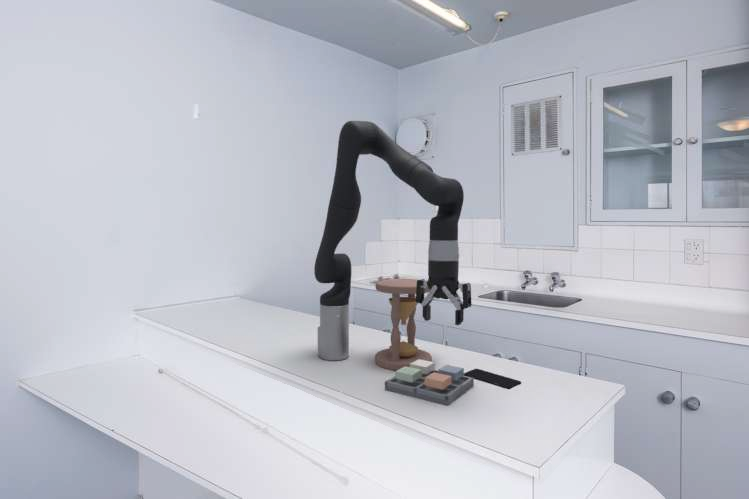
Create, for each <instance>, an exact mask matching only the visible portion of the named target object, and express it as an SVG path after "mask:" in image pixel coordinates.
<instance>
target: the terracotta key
mask: <svg viewBox="0 0 749 499" xmlns="http://www.w3.org/2000/svg"><path fill="white" fill-rule="evenodd" d="M451 381H452V376H449V375H444V374H439V373H435V372H434V373H432V374H430V375H429V376H427V377H425V386H429V387H433V388H437V389H442V390H443V389H445V388H446V387H447V386H449V385H450V384H451Z"/></svg>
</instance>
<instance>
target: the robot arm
mask: <svg viewBox="0 0 749 499" xmlns="http://www.w3.org/2000/svg"><path fill="white" fill-rule="evenodd" d="M337 144H338V146H337V154H336V164H335V171H334V178H333V184H332V190H331V193H330V197H329V202H328V207H327V208H328V209H327V212H326V219H325V223H324V229H323V233H322V236H321V241H320V245H319V248H318V252H317V254H316V257H315V262H314V268H313V269H314V273H313V274H314V278H315V280H316V281H317V283H320V284H333V286H332V287H331V288H330V289H329V290H328V291H326V292H324V293H322V294H321V295H320V297H319V326H317V357H320V359H322V360H324V361H325V360H326V361H342V360H346V359H347V358H349V357H350V353H349V350H350V348H349V347H350V333H349V332H350V323H349V322H350V321H349V320H350V296H351V290H352V289H351V285H352V284H351V283H352V264H351V263H352V262H351V258H350V257H349V255H347V254H346V253H336V250H337V247H338V245H339V244H340V243H341V241H342V240H343V239H344V237H346V235H347V234H348V233H349V232H350V231H351V230H352V228H353V227H354V226H355V224H356V223H357V220H358V219H359V214H360V209H361V204H362V194H361V191H360V186H359V184H358V181H357V174H356V173H357V166H358V165H357V164H358V160H359V158H360V156H362V155H364V156H365V155H371V156H375V157H377V158H379V159H381V160H383V161H384V162H385V163H386V164H387V165H388V167H389V168H390V170H391V172H392V173H393V175H395V176H396V177H397V178H398V179H399V180H401V181H402V182H404V183H405V184H406V185H408V186H409V187H411V188H413V190H415V191H416V193H417V194H418V195H420V197H421V198H422V200H423V199H424V201H426V202H427V203H429V204H430V205H432V206H436V207H438V208H437V212H436V213H437V214H436V215H435V216H434V217H431V219H430V221H429V241H428V242H429V244H428V252H427V254H428V255H427V256H428V259H427V263H428V264H427V265H428V266H427V276H428V280H425V278H420V279H417V286H416V294H415V298H416V302H417V303H418V304H420V305H421V306H422V318H423V319H424V321H425V322H428V321H430V320H431V318H432V316H431V309H432V308H431V307H432V305H431V303H432V302H433V301H434V299H438V300H439V299H444V300H448V301H450V303H451V304H453V306H454V307H455V313H454V314H455V318H454V321H455V322H454V324H455V325H456V326H460V325H462V323H463V322H464V310H465V309H468V308H470V307H472V286H471V285H472V284H471V283H470V282H465V283H460V282H459V268H460V267H459V259H460V253H459V252H460V248H459V221H460V217H461V214H462V210H463V204H464V197H465V196H464V188H463V186H462V184H461V182H460V181H458V180H457V179H456V178H450V177H449V178H448V177H443V176H441V175H439V174H436V173H435V172H434V170H433V168H432V167H431V166H430V165H429V164H428V163H426V162H425V161H423V160H421V159H419V158H418V157H416V156H415V155H413V153H412V154H411V152H409V151H407V150H405V149H404V148H403V147H402V146H400V145H399V144H398V143H397V142H396V141H395V140H394V139H392V138H391V137H390V136H389V135H388V134H387V133H386V132H385V131H384V130H383V129H382V128H381V127H379V126H378V125H377V124H376V123H374V122H372V121H367V120H349V121H346V122H345V123H344V124H343V125H342V126H341V129H340V132H339V136H338V143H337ZM426 286H428V288H429V289H430V292H427V294H426V293H425V288H426ZM458 290H460V292H461V293H462V299H461V297H460V294H459V293H458ZM425 294H426V296H425Z"/></svg>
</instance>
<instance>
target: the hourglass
mask: <svg viewBox="0 0 749 499" xmlns="http://www.w3.org/2000/svg"><path fill="white" fill-rule="evenodd" d="M417 280H418V278H417V279H415V278H414V279H413V278H390V279H382V280H378V281H376V282H375V290H376V291H378V292H380V293H386V294H391V297H390V298H388V302H389V304H390V306H391V311H390V320H391V323H392V329H391V333H390V344H391V345H390V346H389V347H388V348H383V349H382V350H379V351H377V353H376V354H375V355H374V360H375V364H376V365H378V366H379V367H381V368H383V369H385V370H386V369H387V370H392V371H397V370H399V369H401V368H403V367H405V366H406V367H410V364H411V363H413V362H414V361H416V360H418V359H420V360H425V361H430V362H433V357H432V355H431V353H430V352H428V351H426V350H422V349H419V347H418V346H416V343H415V342H416V340H415V339H416V338H415V336H416V331H417V328H416V326H417V325H416V322H415V319H414V318H415V314H416V310H417V305H418V304H419V303H417V302H416V286H417ZM429 292H430V289H429V288H428V286H426V288H425V294H426V293H427V294H428V293H429ZM401 295H407V296H401ZM400 325H401V326H406V335H407V341H405V340H402V341H401V333H400V329H399V326H400Z"/></svg>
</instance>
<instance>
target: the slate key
mask: <svg viewBox="0 0 749 499" xmlns="http://www.w3.org/2000/svg"><path fill="white" fill-rule="evenodd" d="M437 370H438V373H439V374H444V375H449V376H452V380H454V381H456V380H458V379H459V378H461V377H462V376H464V373H465V372H464V370H465V369H464V367H461V366H455V365H450V364H445V365H444V366H442V367H440V368H439V369H437Z"/></svg>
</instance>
